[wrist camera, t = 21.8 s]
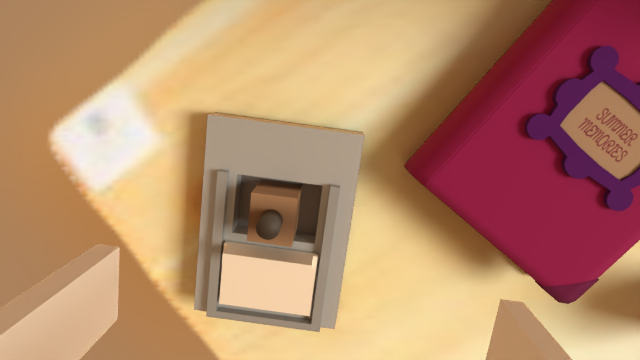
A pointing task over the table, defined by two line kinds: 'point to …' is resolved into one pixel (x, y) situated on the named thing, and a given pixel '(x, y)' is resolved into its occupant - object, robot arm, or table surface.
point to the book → (550, 146)
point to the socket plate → (314, 214)
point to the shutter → (267, 278)
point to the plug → (274, 212)
